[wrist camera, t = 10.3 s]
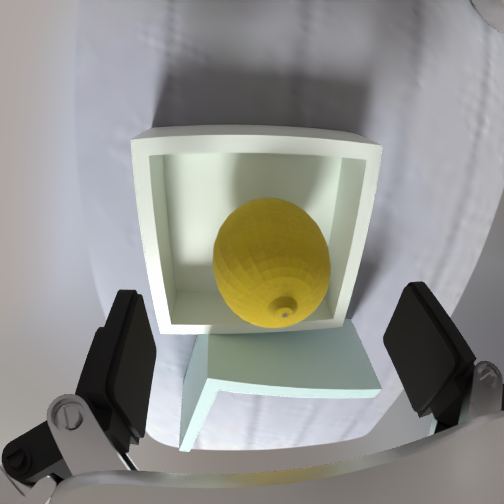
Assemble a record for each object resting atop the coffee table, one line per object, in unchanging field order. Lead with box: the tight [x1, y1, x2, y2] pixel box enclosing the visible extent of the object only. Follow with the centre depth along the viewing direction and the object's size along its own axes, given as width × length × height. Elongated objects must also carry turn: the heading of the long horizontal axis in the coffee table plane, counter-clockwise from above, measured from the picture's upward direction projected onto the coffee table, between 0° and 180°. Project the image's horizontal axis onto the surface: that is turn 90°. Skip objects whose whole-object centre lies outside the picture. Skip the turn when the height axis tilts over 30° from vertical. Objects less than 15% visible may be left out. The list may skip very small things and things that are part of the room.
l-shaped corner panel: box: [179, 318, 382, 452], centre depth 22 cm, size 12×12×8 cm
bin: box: [131, 125, 383, 334], centre depth 17 cm, size 12×12×4 cm
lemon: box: [213, 198, 331, 328], centre depth 14 cm, size 6×6×8 cm
